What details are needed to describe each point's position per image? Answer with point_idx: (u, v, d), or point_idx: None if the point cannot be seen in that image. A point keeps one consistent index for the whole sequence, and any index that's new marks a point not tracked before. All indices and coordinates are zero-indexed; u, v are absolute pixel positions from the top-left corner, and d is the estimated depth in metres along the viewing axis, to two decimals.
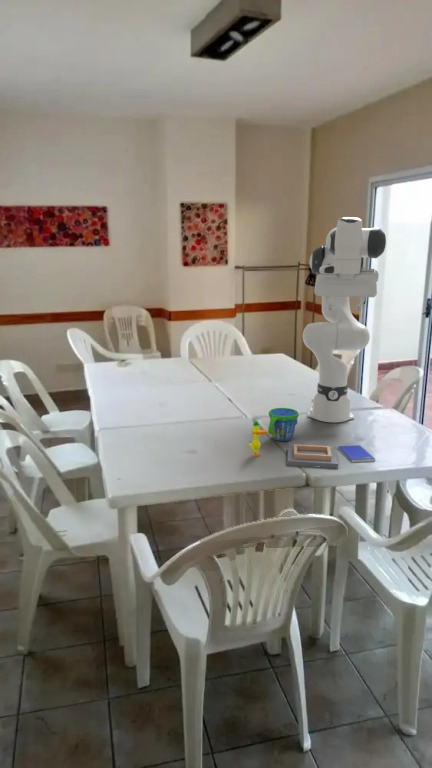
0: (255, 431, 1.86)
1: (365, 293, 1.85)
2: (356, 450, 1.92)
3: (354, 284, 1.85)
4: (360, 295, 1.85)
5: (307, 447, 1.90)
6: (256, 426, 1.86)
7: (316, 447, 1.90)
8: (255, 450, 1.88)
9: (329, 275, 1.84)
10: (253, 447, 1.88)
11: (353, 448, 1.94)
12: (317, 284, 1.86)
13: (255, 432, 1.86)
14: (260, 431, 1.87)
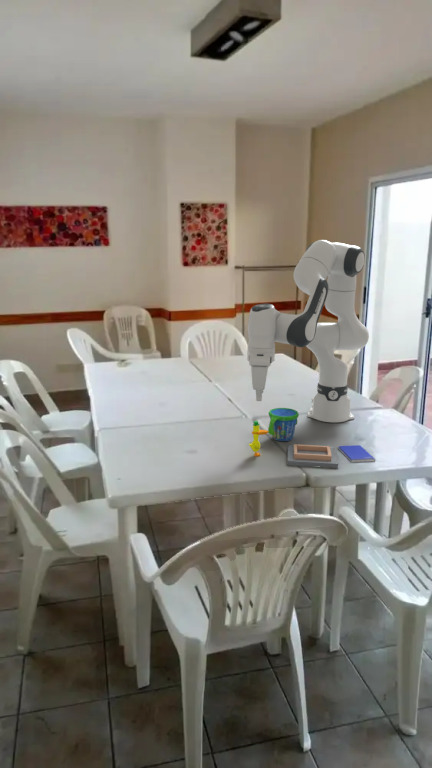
0: (255, 431, 1.86)
1: None
2: (356, 450, 1.92)
3: None
4: None
5: (307, 447, 1.90)
6: (256, 426, 1.86)
7: (316, 447, 1.90)
8: (255, 450, 1.88)
9: (268, 366, 1.76)
10: (253, 447, 1.88)
11: (353, 448, 1.94)
12: None
13: (255, 432, 1.86)
14: (260, 431, 1.87)
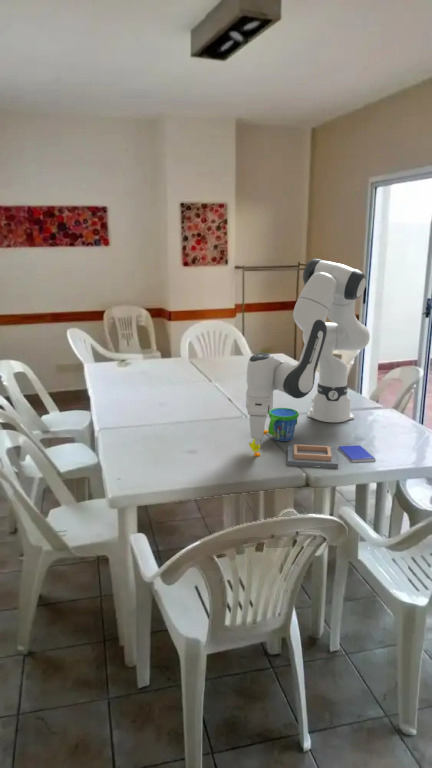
0: None
1: None
2: (357, 450, 1.92)
3: None
4: None
5: (307, 447, 1.90)
6: None
7: (316, 447, 1.90)
8: (255, 450, 1.88)
9: None
10: (253, 447, 1.88)
11: (353, 448, 1.94)
12: None
13: None
14: None
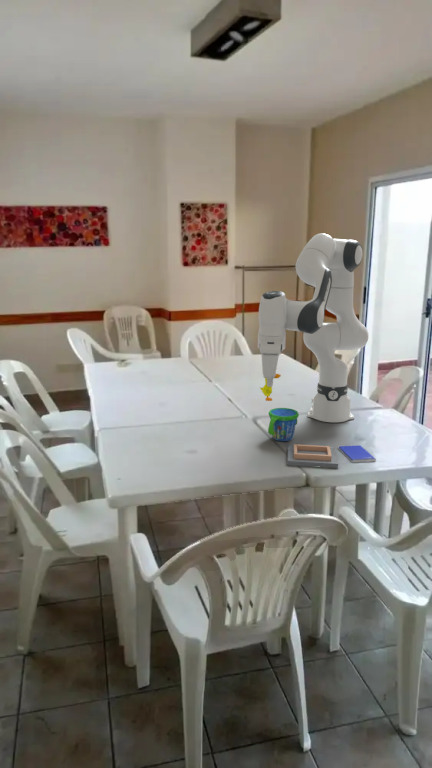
0: None
1: None
2: (357, 450, 1.92)
3: None
4: None
5: (307, 447, 1.90)
6: None
7: (316, 447, 1.90)
8: (267, 394, 1.83)
9: (279, 354, 1.75)
10: (265, 391, 1.83)
11: (353, 448, 1.94)
12: (276, 366, 1.72)
13: None
14: None
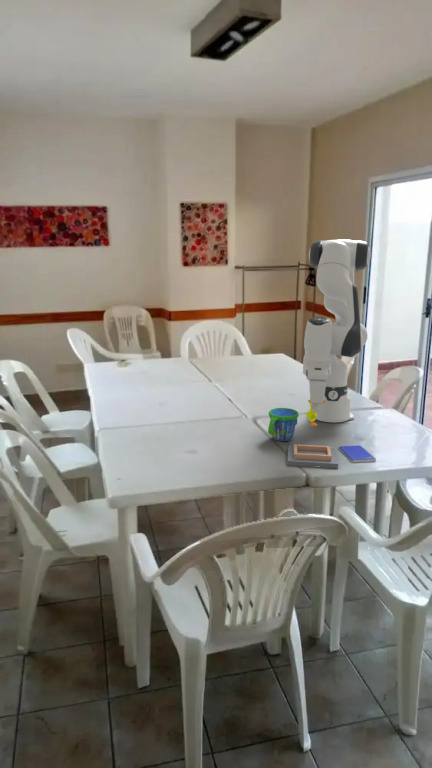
0: None
1: None
2: (357, 450, 1.92)
3: None
4: None
5: (307, 447, 1.90)
6: None
7: (316, 447, 1.90)
8: (312, 419, 1.83)
9: None
10: (310, 416, 1.82)
11: (353, 448, 1.94)
12: (324, 392, 1.72)
13: None
14: None
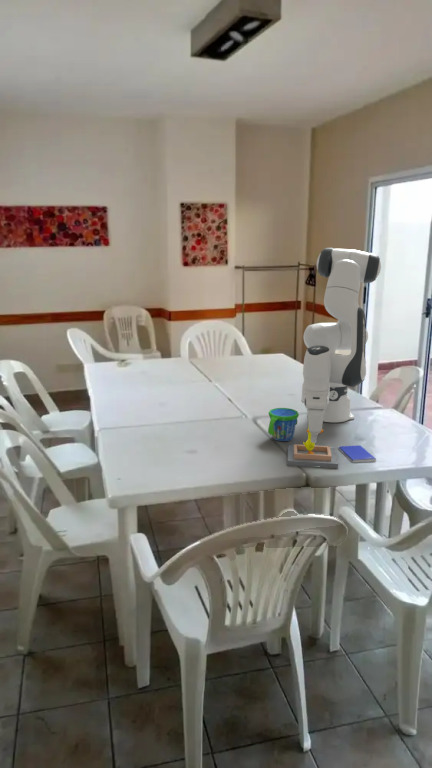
0: None
1: None
2: (357, 450, 1.92)
3: None
4: None
5: None
6: None
7: (316, 447, 1.90)
8: (309, 449, 1.85)
9: None
10: (308, 446, 1.85)
11: (353, 448, 1.94)
12: (322, 421, 1.74)
13: None
14: None
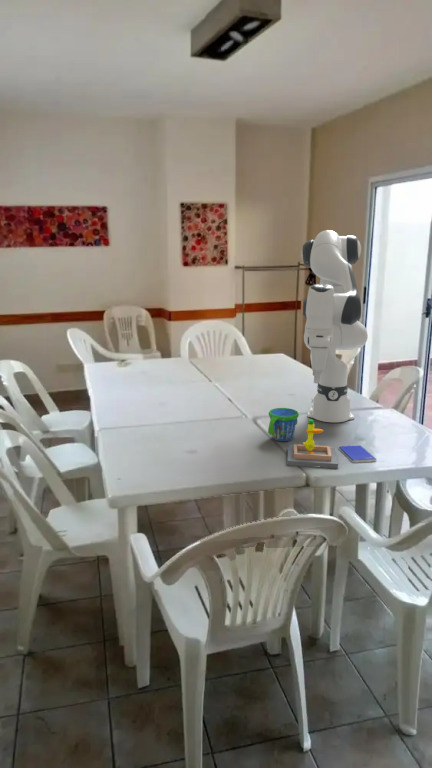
0: (310, 430, 1.84)
1: None
2: (357, 450, 1.92)
3: None
4: None
5: None
6: (311, 425, 1.83)
7: (316, 447, 1.90)
8: (309, 449, 1.85)
9: None
10: (307, 446, 1.85)
11: (353, 448, 1.94)
12: (326, 359, 1.70)
13: (310, 431, 1.84)
14: (315, 430, 1.85)
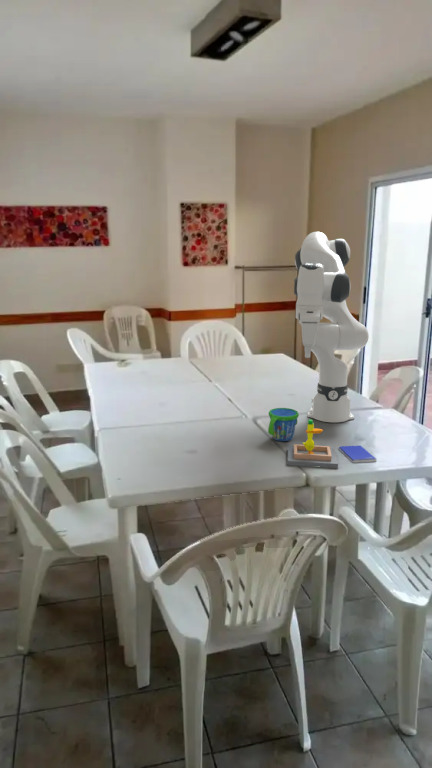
0: (310, 430, 1.84)
1: None
2: (357, 451, 1.92)
3: None
4: None
5: None
6: (311, 425, 1.83)
7: (316, 447, 1.90)
8: (309, 449, 1.85)
9: None
10: (307, 446, 1.85)
11: (353, 449, 1.94)
12: (316, 334, 1.78)
13: (310, 431, 1.84)
14: (314, 430, 1.84)
